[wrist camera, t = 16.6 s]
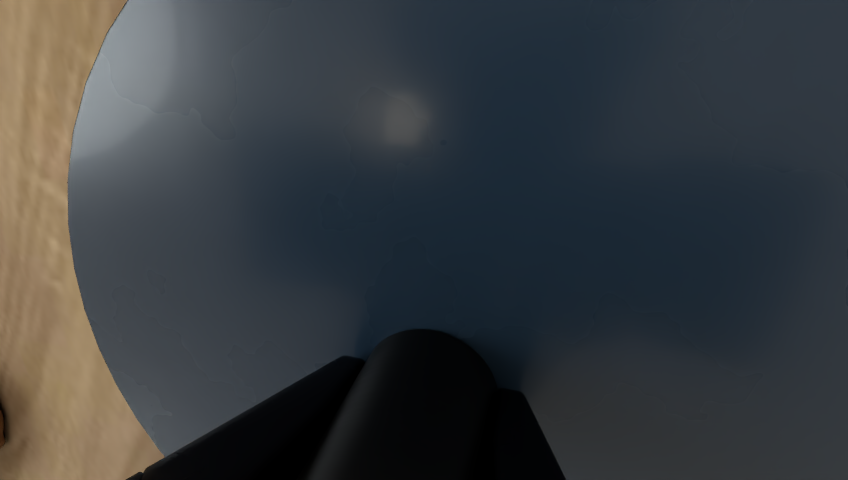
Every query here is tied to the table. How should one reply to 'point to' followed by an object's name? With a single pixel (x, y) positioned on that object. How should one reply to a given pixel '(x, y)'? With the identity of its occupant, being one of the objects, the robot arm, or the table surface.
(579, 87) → the pot lid
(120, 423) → the table surface
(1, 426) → the plant
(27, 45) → the table surface
